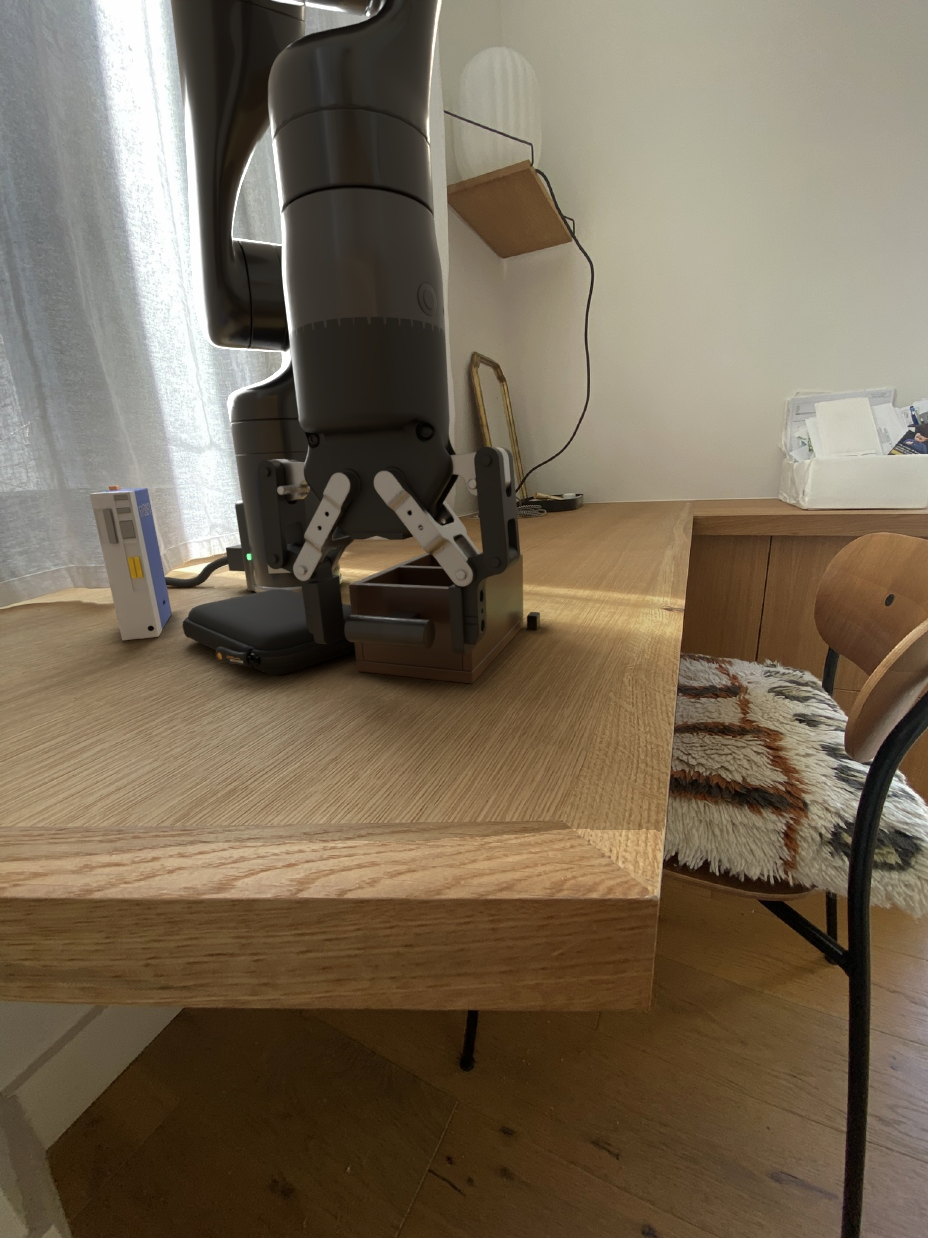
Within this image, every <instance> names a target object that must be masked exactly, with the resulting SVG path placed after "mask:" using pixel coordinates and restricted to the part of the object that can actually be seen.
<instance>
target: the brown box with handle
mask: <svg viewBox="0 0 928 1238" xmlns="http://www.w3.org/2000/svg"><path fill="white" fill-rule="evenodd" d="M452 585H454V582H453V581H452V580H451V578H450V577H449V576H448V574H447V573H446V572H445V571H444V569H443V568H442V567H441V565H440V564H439V563H438V561H437V560H436V559H435V557H434V556H433V555H431V554H429V553H427V552H426V551H425V552H424V553H422V554H419V555H417V556H414V557H412V558H410V559H407V560H405V561H402V562H400V563H397V564H395V565H392V566H390V567H388V568H384V569H383V570H380V571H377V572H375V573H373V574H371V575H368V576H366V577H363V578H361V579H358V580H356V581H354V582H351V583H348V585H347V586H348V594H349V605H350V606H351V615H350V616H349V617H348V618H347V619H346V622H345V626H344V633H345V637H346V639H347V640H348V641H350V642H354V645H355V651H354V655H355V660H356V661H355V663H356V671H357V672H361V673H362V672H363V673H370V674H379V675H387V676H398V677H407V678H416V679H425V680H435V681H443V682H444V681H445V682H453V683H463V684H472V685H473V684H474V683H475V682H476V681H477V679H478V678H479V677H480V676H481V675H482V674H483V673H484V671H485V670H487V668H489V666H490V665H491V663H492V662H493V661H494V660H495V659H496V658H497V657H498V655H499V654H500V653H501V652H502V651H503V650H504V649H505V648H506V647H507V646H508V644H510V642H511V641H512V640H513V639H514V638H515V636H517V634H518V633H519V632H520V631H521V630H522V628H524V555H523V554H522V553H520V559H519V561H518V562H517V563H516V564H515V565H513V566H512V567H510V568H509V569H507V570H506V571H504V572H503V573H501V574H497V575H493V576H490V577H488V578H487V581H486V612H487V617H486V619H487V630H486V633H485V635H484V637H483V638H482V639H481V640H480V641H479V642H478V643H477V645H476V647H475V648H474V649H473V650H472V651H471V652H470V653H468V654H467V655H462V654H453V652H452V645H451V627H450V608H449V590H448V587H450V586H452Z"/></svg>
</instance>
